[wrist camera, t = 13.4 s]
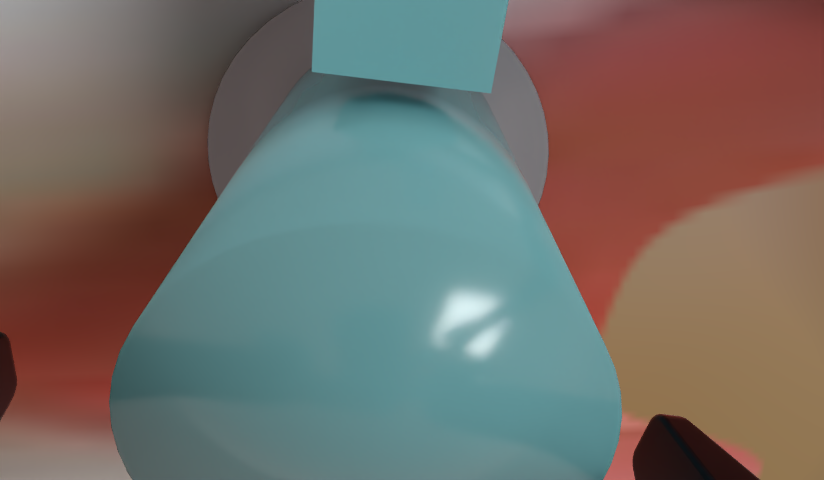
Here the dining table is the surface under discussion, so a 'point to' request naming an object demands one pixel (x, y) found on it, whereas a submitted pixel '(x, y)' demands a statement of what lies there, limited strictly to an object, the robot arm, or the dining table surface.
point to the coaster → (292, 57)
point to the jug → (373, 286)
